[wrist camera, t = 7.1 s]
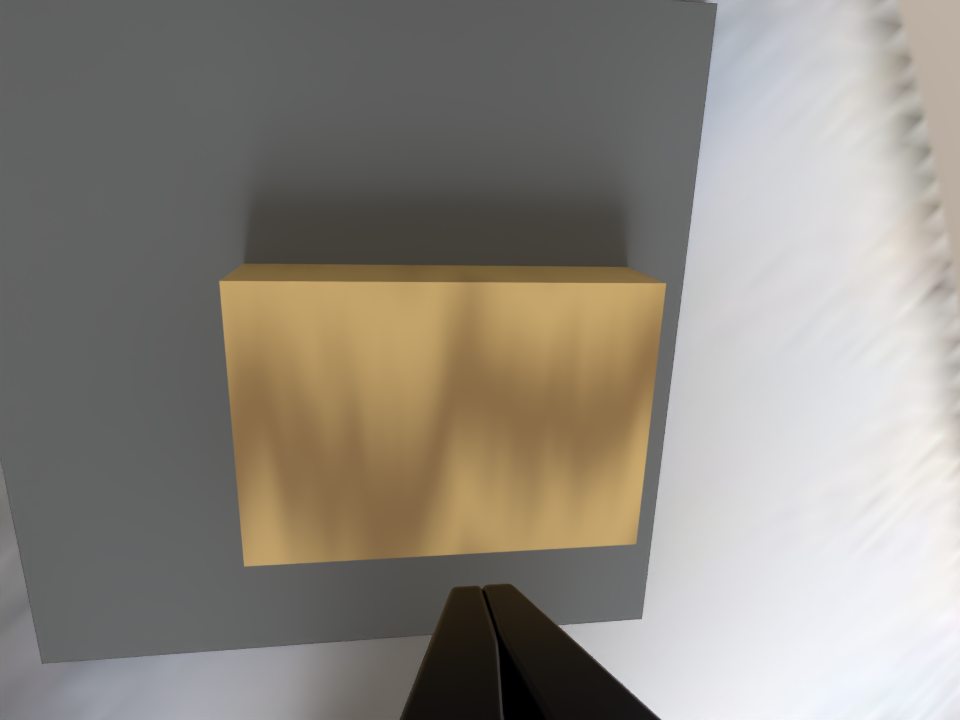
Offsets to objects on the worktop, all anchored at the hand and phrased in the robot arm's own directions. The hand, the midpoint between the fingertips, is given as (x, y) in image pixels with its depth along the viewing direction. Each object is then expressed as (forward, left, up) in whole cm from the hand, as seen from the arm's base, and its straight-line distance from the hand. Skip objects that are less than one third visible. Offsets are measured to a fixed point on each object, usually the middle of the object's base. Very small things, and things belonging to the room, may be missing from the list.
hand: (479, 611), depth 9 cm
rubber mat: (+1, +2, -10) cm, 10 cm away
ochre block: (0, +5, -8) cm, 9 cm away
